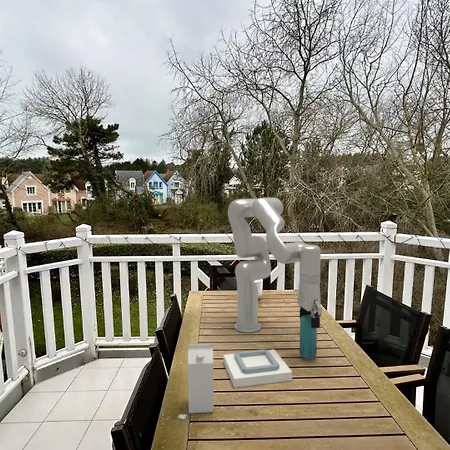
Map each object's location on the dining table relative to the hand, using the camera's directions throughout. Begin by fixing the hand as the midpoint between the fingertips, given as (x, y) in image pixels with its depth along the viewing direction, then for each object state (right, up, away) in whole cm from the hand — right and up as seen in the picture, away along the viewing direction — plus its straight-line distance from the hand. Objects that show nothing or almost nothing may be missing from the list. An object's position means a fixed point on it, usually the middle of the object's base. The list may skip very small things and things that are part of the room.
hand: (309, 323), depth 130 cm
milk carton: (-39, -17, -27) cm, 50 cm away
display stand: (-21, -15, -7) cm, 27 cm away
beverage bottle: (0, -14, +2) cm, 14 cm away
